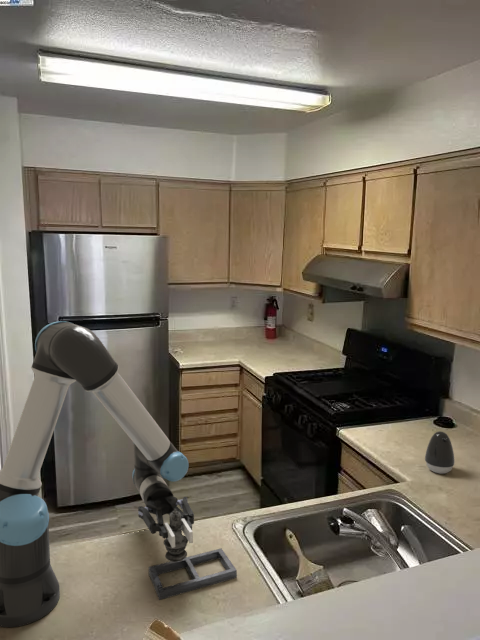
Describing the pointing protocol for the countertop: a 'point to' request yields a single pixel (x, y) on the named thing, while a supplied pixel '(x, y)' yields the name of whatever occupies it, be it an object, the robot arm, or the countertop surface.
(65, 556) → the countertop surface
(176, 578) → the countertop surface
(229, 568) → the grey flat rectangular frame
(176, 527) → the dark grey chess piece
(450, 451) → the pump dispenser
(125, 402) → the robot arm
